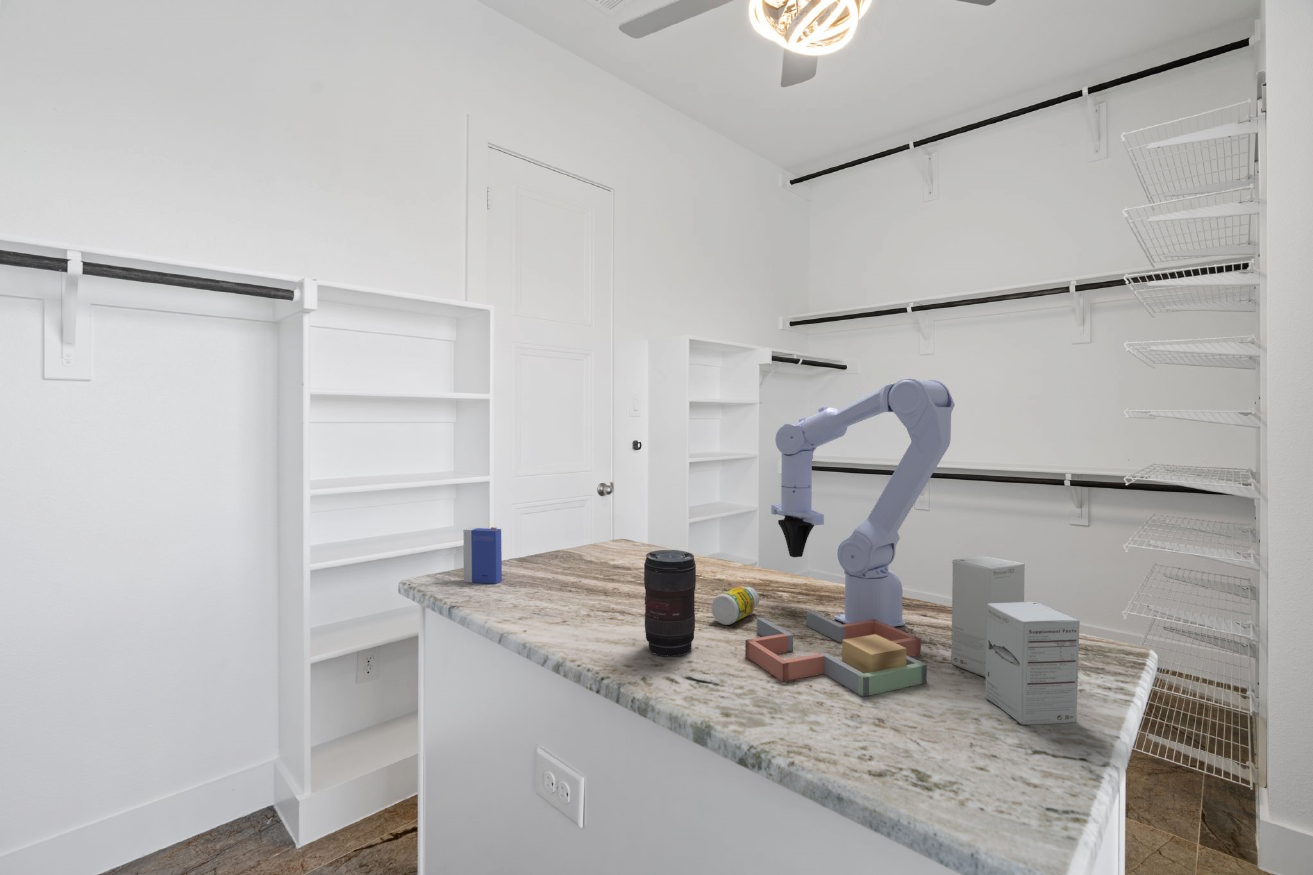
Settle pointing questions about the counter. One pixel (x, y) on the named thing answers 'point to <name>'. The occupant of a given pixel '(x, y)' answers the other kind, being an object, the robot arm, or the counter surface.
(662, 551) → the camera lens
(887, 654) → the oak block
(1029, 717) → the supplement box
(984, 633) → the skincare box
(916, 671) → the plus maze
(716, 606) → the supplement bottle
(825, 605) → the counter surface
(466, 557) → the walkman
